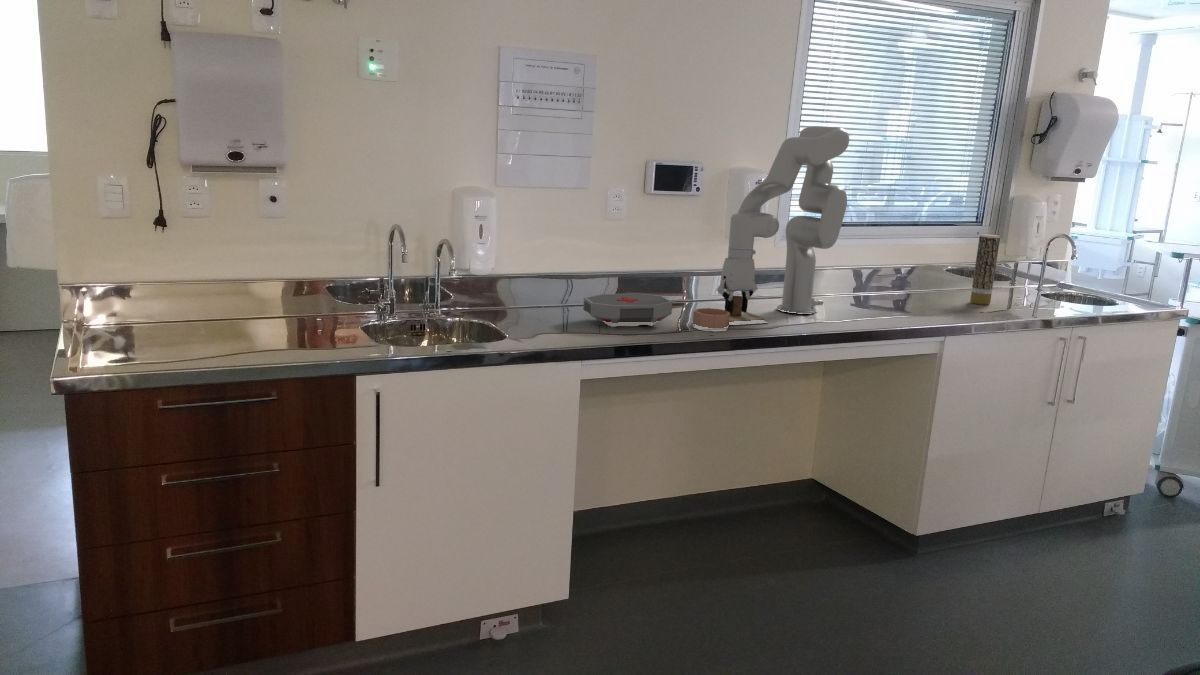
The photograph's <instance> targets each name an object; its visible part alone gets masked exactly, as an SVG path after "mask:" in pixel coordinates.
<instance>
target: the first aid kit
mask: <svg viewBox="0 0 1200 675" xmlns="http://www.w3.org/2000/svg"><path fill="white" fill-rule="evenodd" d="M582 307H583V308H582V309H583V310H584V311H585V312H586V313H588V314H590V316H591V317H592V318H594V319H596V320H597V321H599V322H601V321H606V322H612V323H618V322H653V323H654V322H656V321H659V322H661V321H663V320H664V319H666V318H667V317H669V316H670V315H672V314H673V301H672V300H671V299H669V298H666V297H665V296H663V295H657V294H646V293H645V294H644V293H599V294H594V295H588V296H584V297H583V306H582Z"/></svg>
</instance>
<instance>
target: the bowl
mask: <svg viewBox="0 0 1200 675" xmlns="http://www.w3.org/2000/svg"><path fill="white" fill-rule="evenodd" d="M729 314H730V312H728V311H725V309H722V308H721V309H720V308H711V307H701V308H696V309H695V310H693V314H692V316H693V317H692V325H693V324H696V325H698V326H702V327H708V328H724V327H727V326H728V325H729Z"/></svg>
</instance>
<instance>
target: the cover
mask: <svg viewBox="0 0 1200 675" xmlns="http://www.w3.org/2000/svg"><path fill="white" fill-rule="evenodd" d="M732 301H733V311H732V313H730V314H729V322H734V321H751V320H766V319H765V318H764V317H761V316H758V315H755V314H753V313H751V312H745V313H744V312H742V301H743V297H742V295H733V297H732Z"/></svg>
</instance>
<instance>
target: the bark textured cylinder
mask: <svg viewBox="0 0 1200 675" xmlns="http://www.w3.org/2000/svg"><path fill="white" fill-rule="evenodd" d="M1000 240H1001V235H998V234H992V233H991V234H988V233H981V234H979V237H978V245H977V251H976V259H975V263H974V264H975V266H974V271H973V278H972V286H971V293H970V300H969V301H970V302H971V304H974V305H979V304H980V306H981V305H982V306H987V305H988V306H989V305H990V304H991V299H992V295H993V287H994V281H995V280H994V279H995V273H996V267H997V263H998V262H997V261H998V253H999V247H1000Z"/></svg>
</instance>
